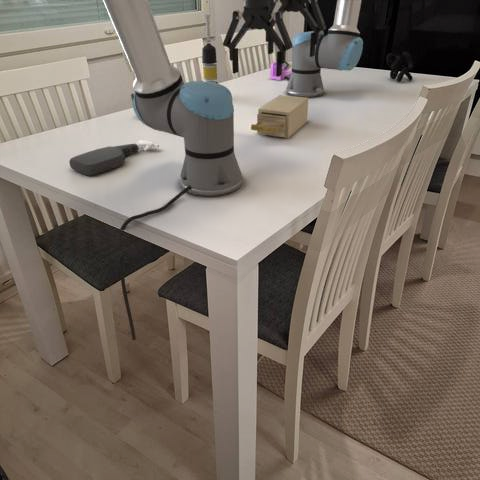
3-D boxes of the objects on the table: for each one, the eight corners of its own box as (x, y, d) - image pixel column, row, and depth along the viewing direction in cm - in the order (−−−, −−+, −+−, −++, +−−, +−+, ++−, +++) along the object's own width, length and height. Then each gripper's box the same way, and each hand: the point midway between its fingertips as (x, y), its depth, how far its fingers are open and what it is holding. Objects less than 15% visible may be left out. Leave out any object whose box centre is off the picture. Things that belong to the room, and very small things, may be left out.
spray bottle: (67, 168, 120) (139, 144, 136) (91, 178, 114) (163, 151, 130) (65, 157, 118) (137, 134, 134) (89, 167, 112) (162, 142, 128)
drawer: (276, 143, 131) (277, 123, 128) (249, 139, 135) (249, 119, 131) (302, 121, 149) (303, 103, 145) (277, 118, 152) (277, 100, 149)
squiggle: (400, 92, 202) (376, 71, 205) (417, 76, 202) (392, 56, 205) (405, 81, 191) (380, 59, 194) (423, 64, 191) (397, 42, 194)
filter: (220, 99, 177) (217, 15, 161) (206, 100, 176) (202, 16, 160) (215, 96, 182) (212, 14, 166) (202, 97, 180) (197, 14, 164)
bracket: (280, 80, 204) (280, 64, 200) (270, 78, 207) (270, 62, 203) (295, 74, 213) (295, 59, 209) (285, 73, 216) (285, 58, 212)
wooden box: (288, 138, 138) (289, 112, 133) (258, 134, 141) (258, 108, 137) (307, 121, 152) (308, 97, 147) (279, 118, 155) (279, 94, 151)
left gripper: (306, -10, 117) (301, 74, 129) (221, -11, 126) (223, 68, 137) (298, -9, 112) (294, 79, 123) (209, -9, 120) (212, 73, 131)
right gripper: (340, -26, 125) (333, 55, 137) (259, -25, 135) (259, 50, 146) (333, -25, 120) (326, 59, 131) (249, -25, 129) (249, 54, 140)
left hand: (256, 74), depth 130 cm, fingers open, 13 cm apart
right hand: (291, 54), depth 138 cm, fingers open, 13 cm apart
